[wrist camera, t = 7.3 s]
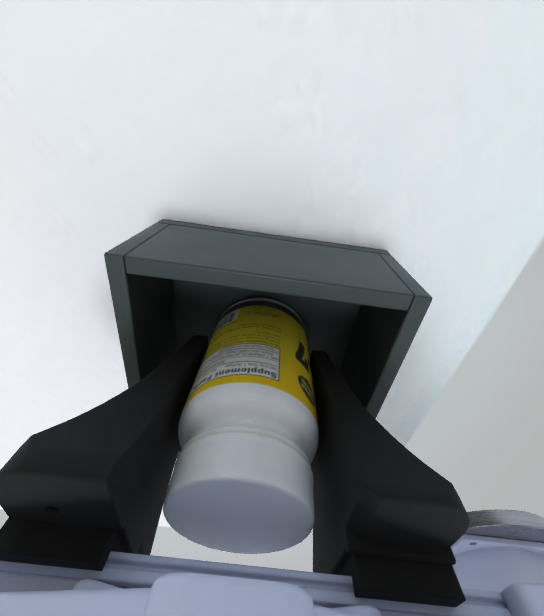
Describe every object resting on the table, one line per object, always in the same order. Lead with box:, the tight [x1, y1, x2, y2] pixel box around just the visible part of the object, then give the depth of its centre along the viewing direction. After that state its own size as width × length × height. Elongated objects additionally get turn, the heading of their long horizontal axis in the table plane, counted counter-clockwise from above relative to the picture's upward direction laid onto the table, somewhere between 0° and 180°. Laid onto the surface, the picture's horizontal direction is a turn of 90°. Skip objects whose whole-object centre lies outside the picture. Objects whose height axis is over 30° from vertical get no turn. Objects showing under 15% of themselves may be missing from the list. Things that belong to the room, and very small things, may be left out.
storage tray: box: [104, 219, 432, 470], centre depth 13 cm, size 10×10×5 cm
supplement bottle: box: [163, 298, 319, 554], centre depth 11 cm, size 5×5×8 cm
